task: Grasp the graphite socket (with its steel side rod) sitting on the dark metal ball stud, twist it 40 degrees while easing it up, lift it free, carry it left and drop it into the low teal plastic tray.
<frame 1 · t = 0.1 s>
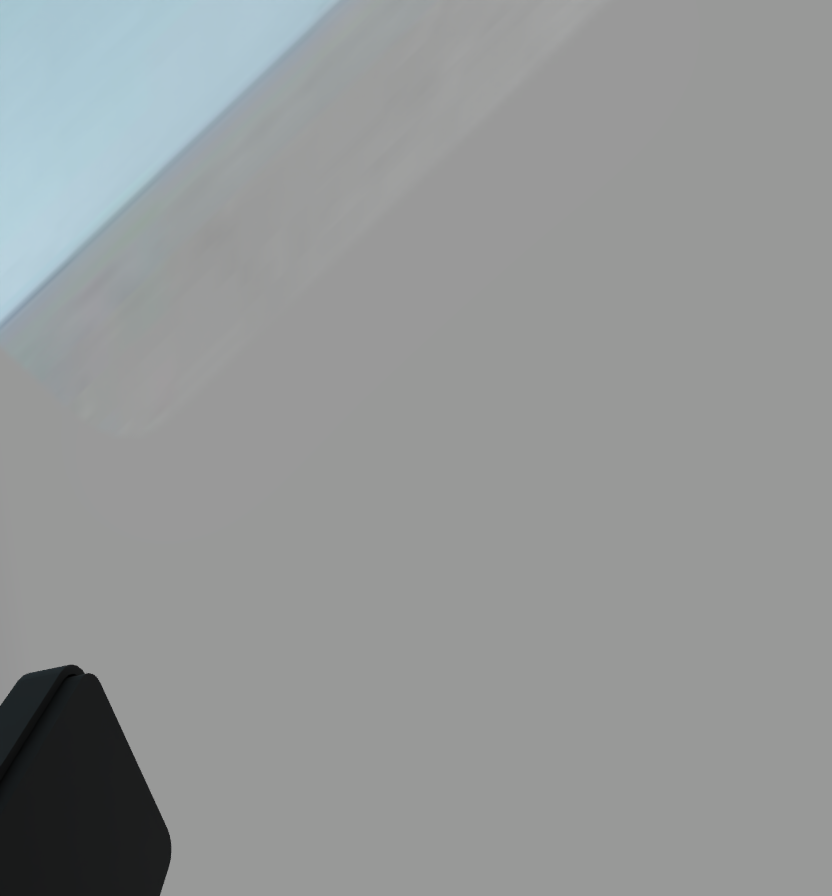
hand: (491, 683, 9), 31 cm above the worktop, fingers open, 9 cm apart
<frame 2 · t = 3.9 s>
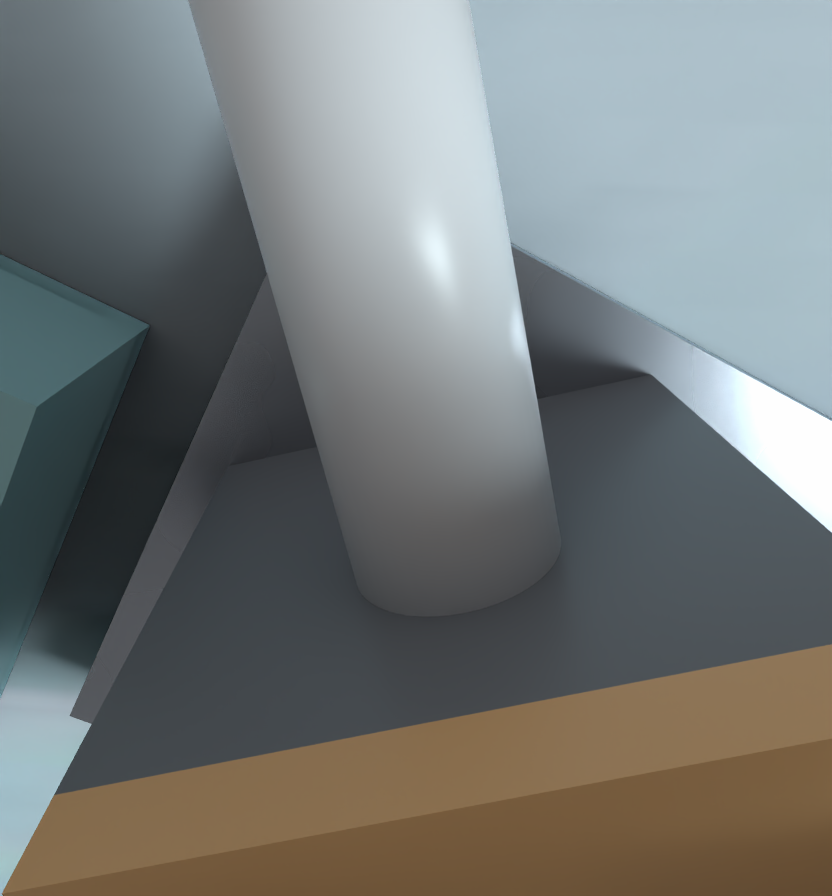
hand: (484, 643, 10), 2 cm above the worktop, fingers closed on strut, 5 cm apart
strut: (476, 601, 11), point 1 cm above the worktop, touching gripper, stud
stud: (470, 565, 12), on the worktop
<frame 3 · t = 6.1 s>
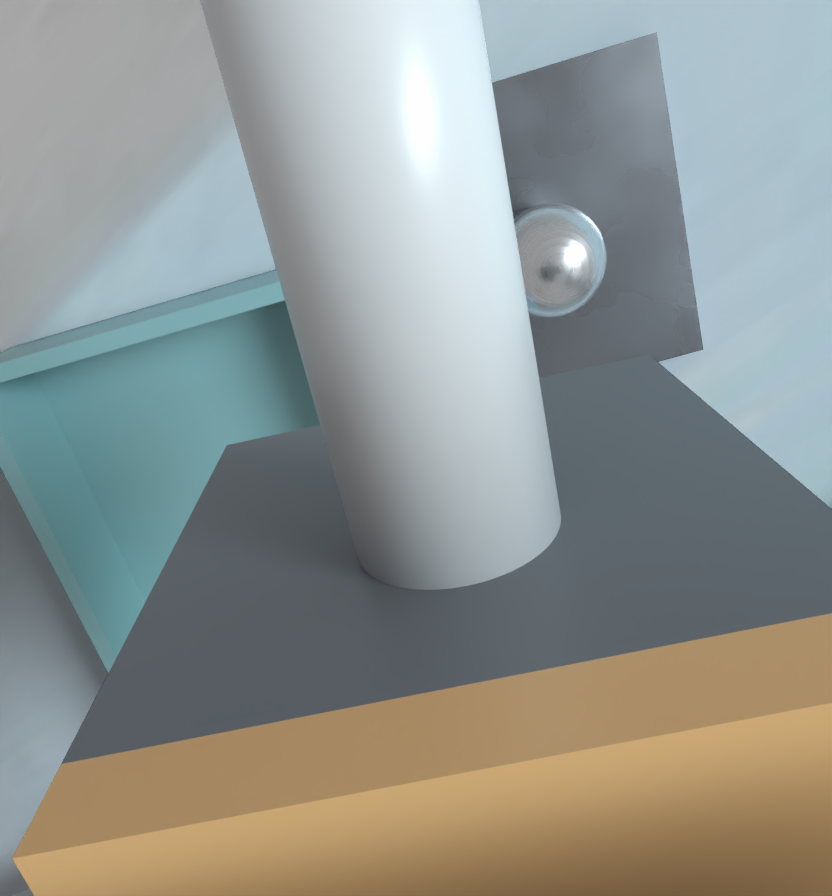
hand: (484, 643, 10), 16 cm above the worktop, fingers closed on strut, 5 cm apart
bin: (251, 504, 26), on the worktop
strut: (473, 580, 11), point 14 cm above the worktop, touching gripper
stud: (524, 242, 23), on the worktop
when the fingers open (4 cm above the worktop, at t = 8.3 s): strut drops 2 cm, resting on bin.
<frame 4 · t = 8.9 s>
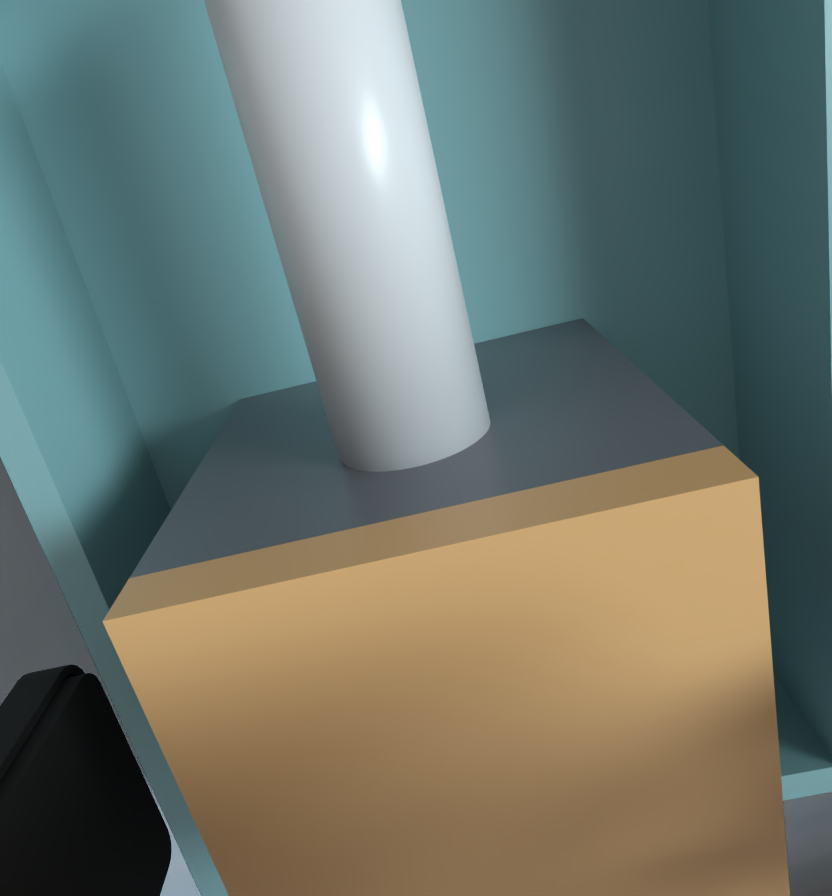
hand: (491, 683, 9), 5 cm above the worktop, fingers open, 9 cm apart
bin: (424, 348, 13), on the worktop
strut: (446, 512, 13), resting on bin
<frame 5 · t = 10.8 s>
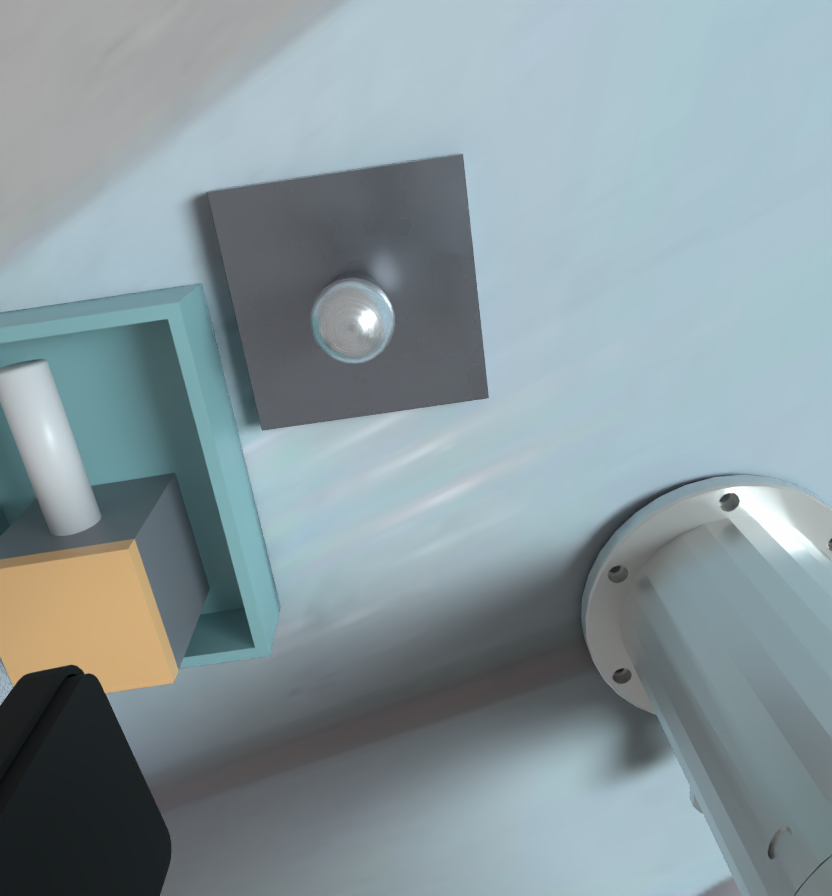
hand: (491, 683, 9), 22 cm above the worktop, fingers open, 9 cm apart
bin: (118, 477, 32), on the worktop
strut: (128, 542, 32), resting on bin
stud: (356, 295, 29), on the worktop
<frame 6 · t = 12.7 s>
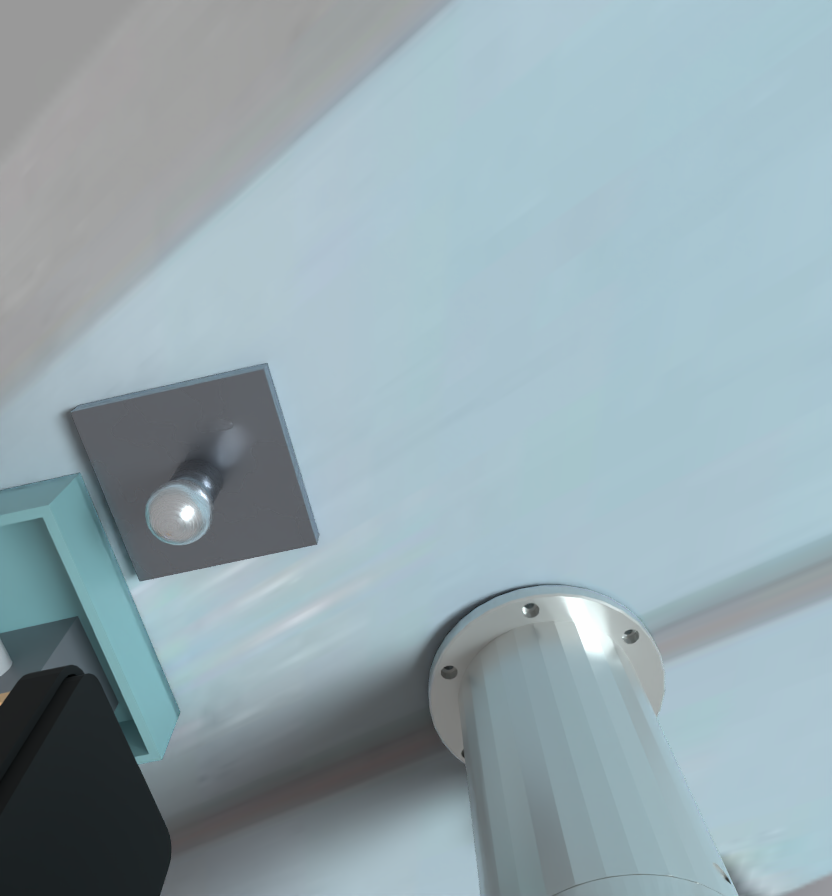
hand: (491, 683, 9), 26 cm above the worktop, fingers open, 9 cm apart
bin: (35, 620, 39), on the worktop
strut: (48, 671, 40), resting on bin
stud: (203, 472, 36), on the worktop
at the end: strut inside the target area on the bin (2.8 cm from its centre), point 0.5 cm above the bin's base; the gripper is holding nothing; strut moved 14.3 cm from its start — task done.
